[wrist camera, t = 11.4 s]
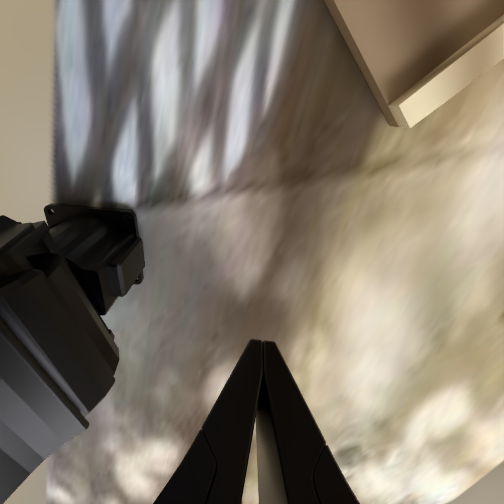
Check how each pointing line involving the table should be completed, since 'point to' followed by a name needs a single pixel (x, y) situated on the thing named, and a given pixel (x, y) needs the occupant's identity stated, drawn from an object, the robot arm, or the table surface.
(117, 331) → the table surface
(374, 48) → the open-ended rail tray
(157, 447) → the table surface
